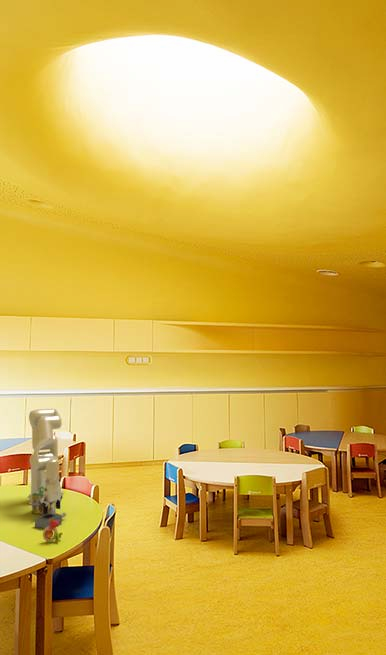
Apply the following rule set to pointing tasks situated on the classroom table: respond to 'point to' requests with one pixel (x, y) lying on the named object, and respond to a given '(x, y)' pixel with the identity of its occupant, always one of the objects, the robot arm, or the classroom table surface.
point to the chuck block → (48, 519)
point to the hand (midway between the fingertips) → (51, 510)
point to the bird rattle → (51, 532)
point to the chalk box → (37, 502)
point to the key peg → (52, 507)
